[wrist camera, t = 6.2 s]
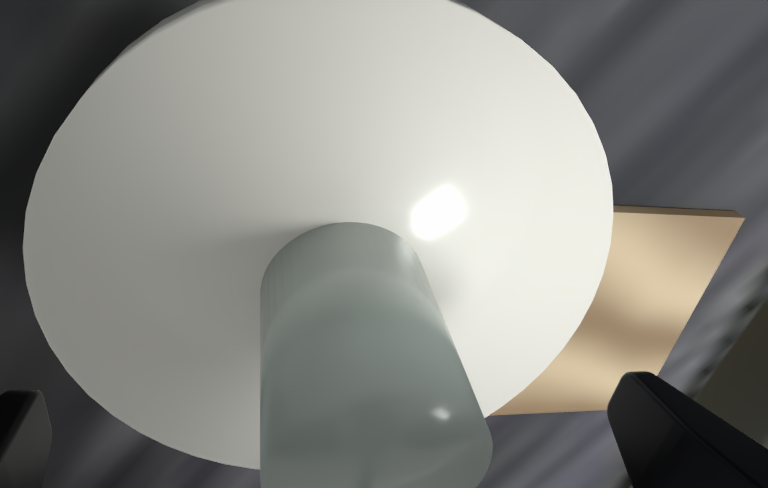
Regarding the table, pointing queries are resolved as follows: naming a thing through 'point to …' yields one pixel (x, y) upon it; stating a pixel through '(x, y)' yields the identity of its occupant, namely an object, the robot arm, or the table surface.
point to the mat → (633, 305)
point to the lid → (320, 236)
